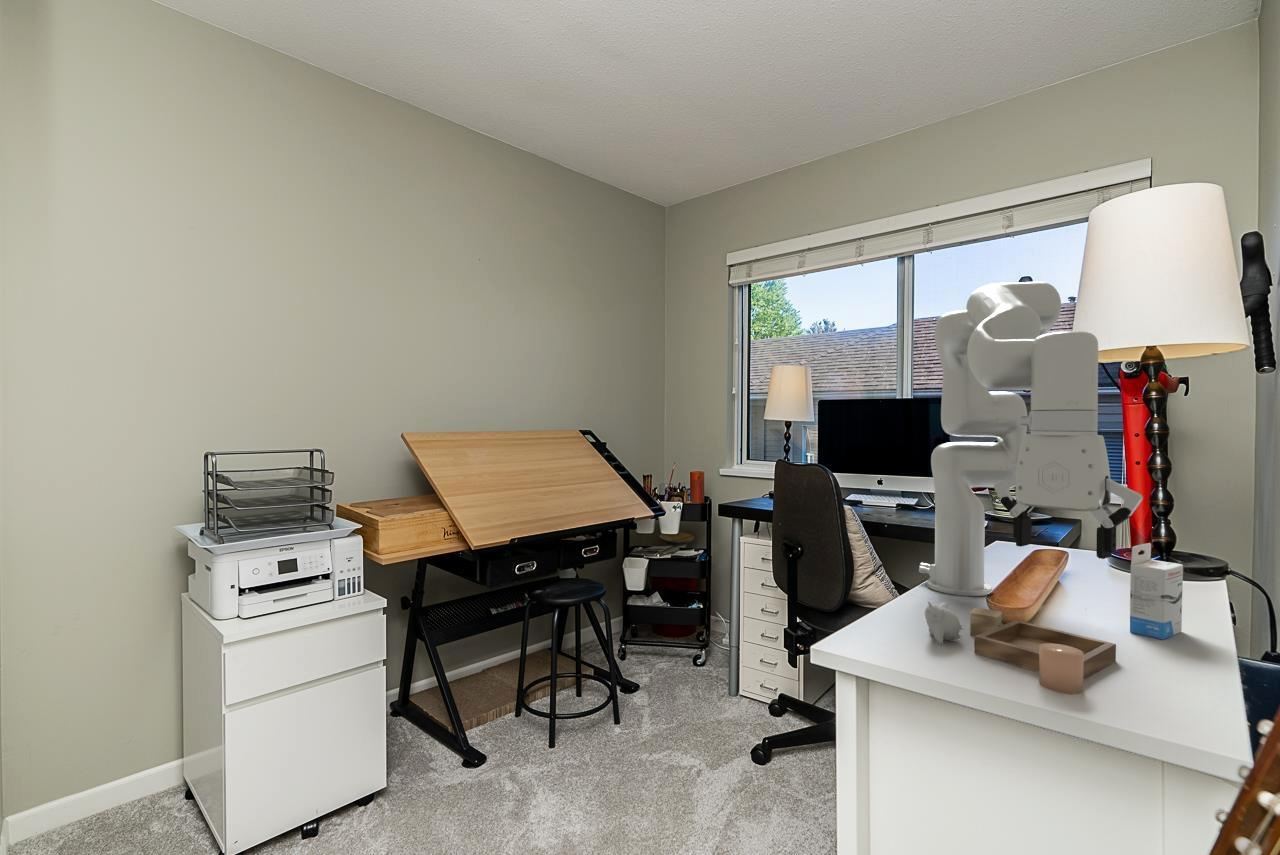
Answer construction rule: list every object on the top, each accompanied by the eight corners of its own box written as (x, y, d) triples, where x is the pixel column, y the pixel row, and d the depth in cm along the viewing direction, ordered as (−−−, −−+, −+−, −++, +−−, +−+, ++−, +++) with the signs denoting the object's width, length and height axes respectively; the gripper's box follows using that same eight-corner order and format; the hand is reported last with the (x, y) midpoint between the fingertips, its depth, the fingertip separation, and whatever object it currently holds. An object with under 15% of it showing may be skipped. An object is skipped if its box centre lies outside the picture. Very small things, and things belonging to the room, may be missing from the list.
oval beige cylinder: (1032, 684, 86) (1032, 648, 86) (1048, 676, 89) (1048, 640, 89) (1074, 697, 82) (1074, 659, 82) (1089, 688, 85) (1089, 651, 85)
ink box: (1164, 640, 104) (1165, 551, 104) (1128, 632, 108) (1129, 546, 108) (1183, 631, 109) (1184, 546, 109) (1148, 624, 113) (1148, 541, 113)
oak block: (970, 636, 106) (970, 612, 106) (975, 630, 109) (975, 607, 109) (997, 641, 103) (997, 617, 103) (1001, 635, 106) (1001, 611, 106)
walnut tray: (974, 652, 98) (974, 636, 98) (1016, 635, 106) (1016, 620, 106) (1078, 683, 86) (1078, 664, 86) (1115, 661, 95) (1115, 643, 95)
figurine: (963, 655, 100) (938, 627, 98) (927, 654, 105) (903, 627, 102) (968, 611, 105) (945, 583, 102) (934, 613, 109) (911, 586, 107)
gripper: (983, 424, 90) (982, 544, 90) (1131, 424, 76) (1129, 566, 76) (1008, 424, 94) (1007, 538, 95) (1152, 425, 80) (1150, 559, 81)
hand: (1062, 551), depth 85 cm, fingers open, 9 cm apart
